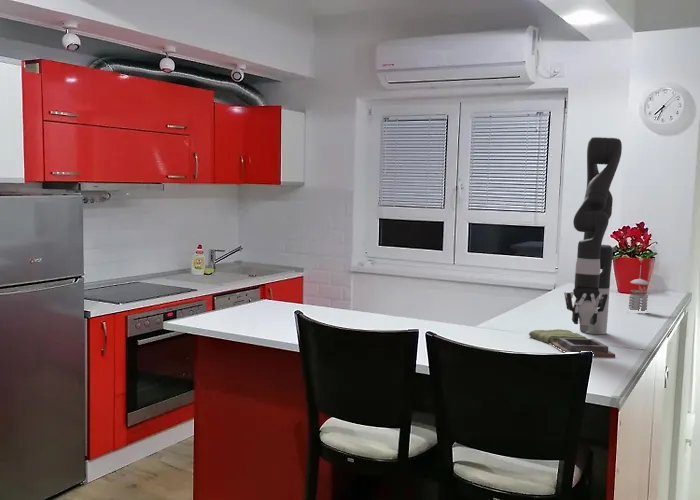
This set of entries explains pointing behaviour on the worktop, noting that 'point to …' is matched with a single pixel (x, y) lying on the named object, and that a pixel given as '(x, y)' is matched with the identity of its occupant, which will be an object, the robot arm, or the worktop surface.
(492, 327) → the worktop surface
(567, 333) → the washcloth
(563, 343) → the socket stand
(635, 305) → the french press
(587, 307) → the lightbulb
